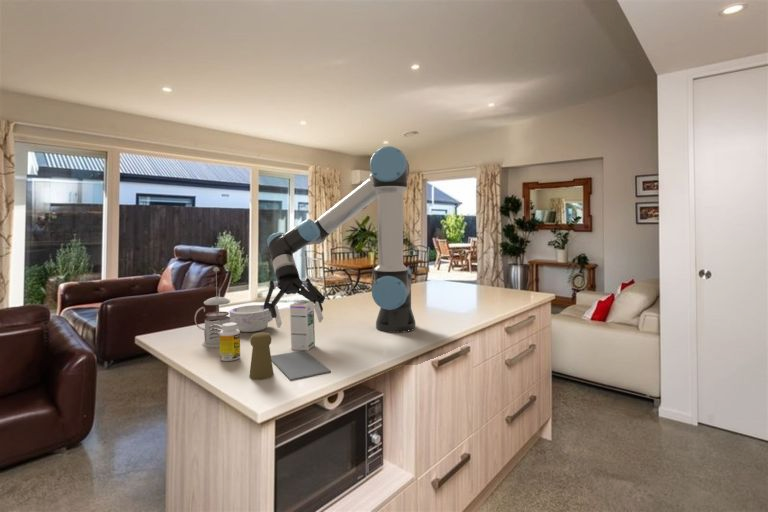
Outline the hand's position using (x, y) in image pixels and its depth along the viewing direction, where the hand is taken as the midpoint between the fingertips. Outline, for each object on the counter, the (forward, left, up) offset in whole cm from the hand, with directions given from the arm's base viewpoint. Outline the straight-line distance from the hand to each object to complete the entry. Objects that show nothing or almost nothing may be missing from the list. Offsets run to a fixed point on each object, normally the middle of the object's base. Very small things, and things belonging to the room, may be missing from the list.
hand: (301, 323), depth 123 cm
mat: (0, +15, -8) cm, 17 cm away
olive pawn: (+8, +22, -8) cm, 25 cm away
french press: (+29, -8, -8) cm, 31 cm away
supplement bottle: (+20, +8, -8) cm, 23 cm away
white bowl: (+21, -25, -8) cm, 33 cm away
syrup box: (0, 0, -8) cm, 8 cm away
